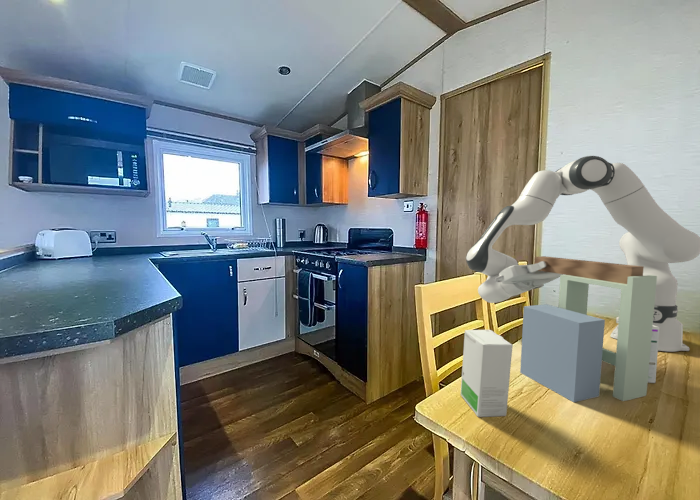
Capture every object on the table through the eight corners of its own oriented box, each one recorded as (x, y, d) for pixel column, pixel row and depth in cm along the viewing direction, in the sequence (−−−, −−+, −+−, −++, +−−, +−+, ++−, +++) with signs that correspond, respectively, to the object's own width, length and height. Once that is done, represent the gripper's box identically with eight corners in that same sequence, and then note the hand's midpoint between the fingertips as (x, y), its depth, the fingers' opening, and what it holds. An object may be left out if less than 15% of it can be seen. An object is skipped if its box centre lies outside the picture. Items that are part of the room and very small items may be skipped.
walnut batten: (534, 269, 89) (534, 256, 88) (544, 269, 90) (544, 256, 90) (630, 284, 66) (631, 267, 66) (642, 283, 67) (643, 266, 67)
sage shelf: (554, 368, 81) (560, 267, 79) (575, 364, 83) (582, 266, 81) (623, 401, 66) (633, 277, 64) (646, 395, 68) (656, 275, 66)
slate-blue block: (520, 372, 79) (523, 306, 77) (542, 368, 81) (546, 304, 80) (573, 402, 65) (579, 322, 64) (599, 396, 68) (604, 319, 66)
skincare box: (459, 395, 68) (462, 329, 67) (487, 394, 68) (490, 328, 67) (478, 418, 59) (482, 343, 58) (509, 417, 60) (513, 342, 59)
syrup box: (656, 383, 74) (661, 327, 72) (629, 381, 75) (633, 325, 74) (639, 372, 79) (643, 320, 78) (613, 370, 80) (618, 318, 79)
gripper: (488, 272, 95) (521, 254, 83) (536, 269, 101) (573, 252, 89) (495, 290, 93) (529, 274, 81) (544, 287, 99) (583, 272, 87)
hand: (553, 263), depth 85 cm, fingers closed on walnut batten, 4 cm apart
